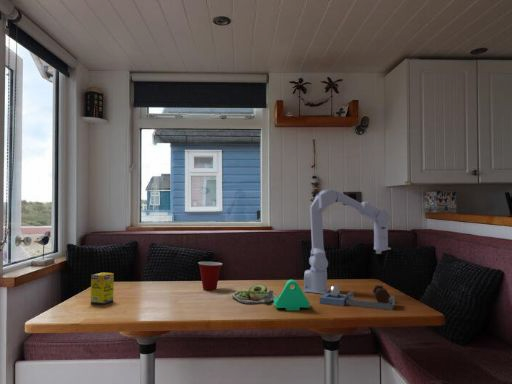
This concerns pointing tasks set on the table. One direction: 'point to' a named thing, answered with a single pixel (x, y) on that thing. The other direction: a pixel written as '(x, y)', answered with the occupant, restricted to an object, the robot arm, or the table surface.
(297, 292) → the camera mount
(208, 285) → the plastic cup
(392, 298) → the mount bracket
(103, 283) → the supplement box
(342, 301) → the socket
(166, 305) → the table surface
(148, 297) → the table surface
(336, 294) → the grey metal cylinder
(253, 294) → the salad plate
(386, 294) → the bolt
